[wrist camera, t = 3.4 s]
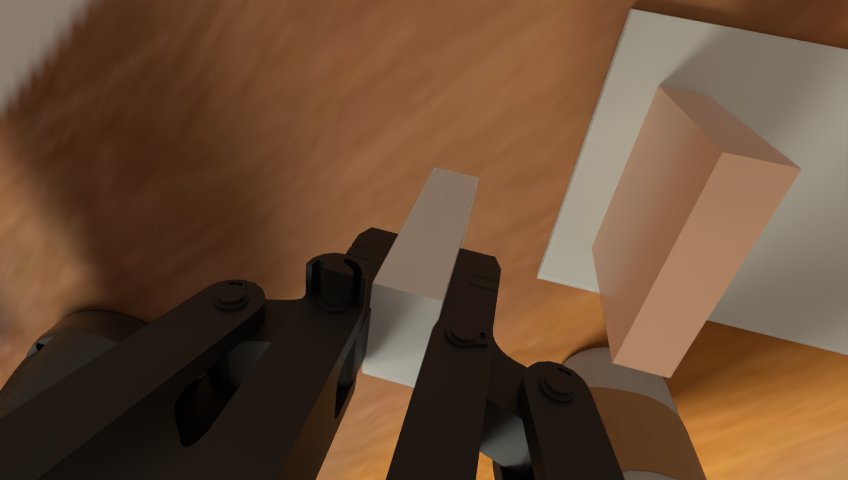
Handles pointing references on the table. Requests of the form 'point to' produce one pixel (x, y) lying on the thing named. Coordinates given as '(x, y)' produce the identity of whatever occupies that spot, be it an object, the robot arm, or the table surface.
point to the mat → (769, 118)
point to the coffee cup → (638, 419)
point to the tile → (681, 225)
